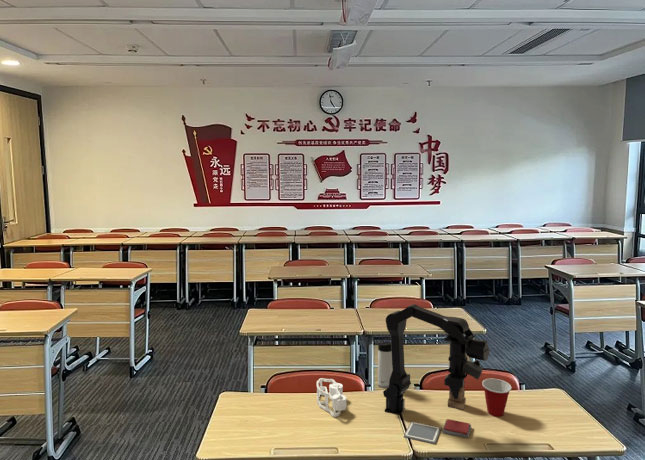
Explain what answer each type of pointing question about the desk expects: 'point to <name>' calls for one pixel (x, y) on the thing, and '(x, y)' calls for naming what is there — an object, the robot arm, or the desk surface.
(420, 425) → the marked board
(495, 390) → the plastic cup
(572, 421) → the desk surface
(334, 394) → the white open frame block
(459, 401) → the stamp
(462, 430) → the ink pad
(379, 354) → the travel mug
